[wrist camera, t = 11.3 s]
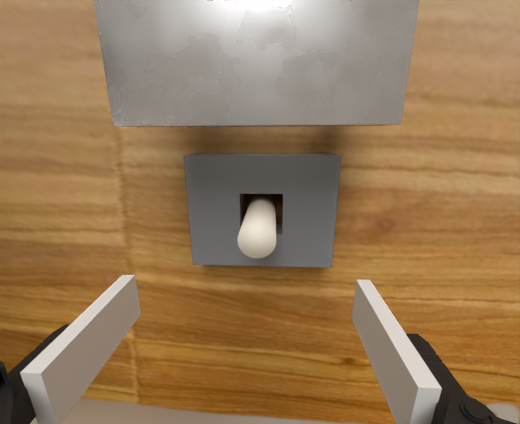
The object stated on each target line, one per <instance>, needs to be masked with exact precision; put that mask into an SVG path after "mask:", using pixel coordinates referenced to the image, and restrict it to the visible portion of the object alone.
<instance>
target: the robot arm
mask: <svg viewBox="0 0 520 424" xmlns="http://www.w3.org/2000/svg"><path fill="white" fill-rule="evenodd" d="M140 315H141V310H140V304H139V298H138V292H137V286H136V280H135V275H122V276H121V277H120V278H119V279H118V280H117V281H116V282H114V283H113V284H112V285H111V286H110V287H109V288H108V289H107V290H106V291H105V292H104V293H103V294H102V295H101V296H100V297H99V298H98V299H97V300H96V301H95V302H94V303H92V304H91V305H90V306H89V307H88V308H87V309H86V310H85V311H84V312H83V313H82V314H81V315H80V316H79V317H78V318H77V319H76V320H75V321H74V322H73V323H72V324H70V325H64V326H62V327H61V328H59V329H58V330H56V331H54V332H53V333H52V334H51V335H50V336H48V337H47V338H46V339H45V340H44V341H43V343H41V344H40V345H39V346H37V347H36V348H35V350H33V351H32V352H31V353H30V354H29V355H28V356H27V357H25V358H24V359H23V360H22V361H21V362H20V363H19V364H18V365H17V366H16V367H14V368H13V369H12V370H11V371H10V372H9V373H8V374H7V371H6V369H5V366H4V363H3V362H1V361H0V424H30V423H31V421H32V420H33V419H34V418H35V417H36V419H37V422H38V424H62V423H63V421H64V420H65V419H66V417H67V416H68V415H69V413H70V412H71V411H72V409H73V408H74V406H75V405H76V404H77V402H78V401H79V399H80V398H81V397H82V395H83V394H84V392H85V391H86V390H87V388H88V387H89V386H90V384H91V383H92V381H93V380H94V379H95V377H96V376H97V374H98V373H99V372H100V370H101V369H102V367H103V366H104V365H105V363H106V362H107V361H108V359H109V358H110V356H111V355H112V354H113V352H114V351H115V349H116V348H117V347H118V345H119V344H120V342H121V341H122V340H123V338H124V337H125V336H126V334H127V333H128V331H129V330H130V329H131V327H132V326H133V324H134V323H135V322H136V320H137V319H138V317H139V316H140ZM352 321H353V324H354V326H355V328H356V331H357V333H358V335H359V338H360V340H361V342H362V345H363V347H364V349H365V352H366V354H367V356H368V359H369V361H370V363H371V366H372V368H373V371H374V373H375V375H376V378H377V380H378V382H379V385H380V387H381V389H382V392H383V394H384V396H385V399H386V401H387V403H388V406H389V408H390V410H391V413H392V415H393V417H394V420H395V422H396V424H516V423H513V422H510V421H506V420H503V419H500V418H498V417H496V416H495V415H494V414H493V412H492V411H490V410H489V409H488V408H487V407H486V406H485V405H484V404H482V403H481V402H479V401H477V400H476V399H473V398H471V397H469V396H468V395H467V394H466V393H465V391H464V390H463V389H462V387H461V386H460V385H459V383H458V382H457V381H456V379H455V378H454V377H453V375H452V374H451V373H450V371H449V370H448V368H447V367H446V366H445V364H444V363H442V360H441V359H440V358H439V356H438V355H436V352H435V351H434V350H433V348H432V347H431V346H430V344H429V343H428V342H427V341H426V340H424V339H423V338H422V337H421V336H419V335H418V334H405V332H404V331H403V329H402V328H401V326H400V325H399V323H398V322H397V320H396V319H395V317H394V315H393V314H392V312H391V311H390V309H389V308H388V306H387V305H386V303H385V302H384V300H383V299H382V297H381V296H380V294H379V293H378V291H377V290H376V288H375V287H374V285H373V284H372V282H371V281H370V280H356V287H355V296H354V304H353V312H352Z"/></svg>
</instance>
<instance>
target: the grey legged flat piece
mask: <svg viewBox="0 0 520 424" xmlns="http://www.w3.org/2000/svg"><path fill="white" fill-rule="evenodd" d="M418 5H419V0H94V6H95V12H96V19H97V25H98V31H99V37H100V44H101V50H102V56H103V63H104V69H105V75H106V82H107V88H108V94H109V101H110V107H111V113H112V119H113V126H124V127H271V126H385V125H399V124H401V122H402V115H403V108H404V101H405V94H406V88H407V81H408V74H409V67H410V60H411V53H412V46H413V39H414V33H415V26H416V19H417V12H418Z"/></svg>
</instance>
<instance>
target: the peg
mask: <svg viewBox="0 0 520 424" xmlns="http://www.w3.org/2000/svg"><path fill="white" fill-rule="evenodd" d="M237 241H238V246H239V248H240V250H241V251H242V252H243V253H244V254H245V255H247V256H249V257H251V258H264V257H266V256H268V255H269V254H271V253H272V251H273V250H274V248H275V246H276V204H275V201H274V199H273V198H272V197H271V196H270V195H268V194H257V195H255V196H254V197H253V198H252V199H251V201H250V204H249V206H248V209H247V212H246V215H245V217H244V220H243V223H242V226H241V229H240V231H239V234H238V238H237Z"/></svg>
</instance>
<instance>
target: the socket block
mask: <svg viewBox="0 0 520 424" xmlns="http://www.w3.org/2000/svg"><path fill="white" fill-rule="evenodd" d="M340 165H341V156H339V155H336V154H190V155H186V156H184V166H185V177H186V189H187V200H188V212H189V223H190V235H191V246H192V257H193V265H234V266H278V267H321V268H332V259H333V247H334V235H335V224H336V212H337V200H338V188H339V177H340ZM244 194H282V222H281V224H276V246H275V248H274V250H273V251H272V253H271V254H269V255H268V256H266V257H264V258H251V257H249V256H247V255H245V254H244V253H243V252H242V251H241V250H240V248H239V246H238V241H237V238H238V234H239V231H240V229H241V226H242V223H243V220H244Z"/></svg>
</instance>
